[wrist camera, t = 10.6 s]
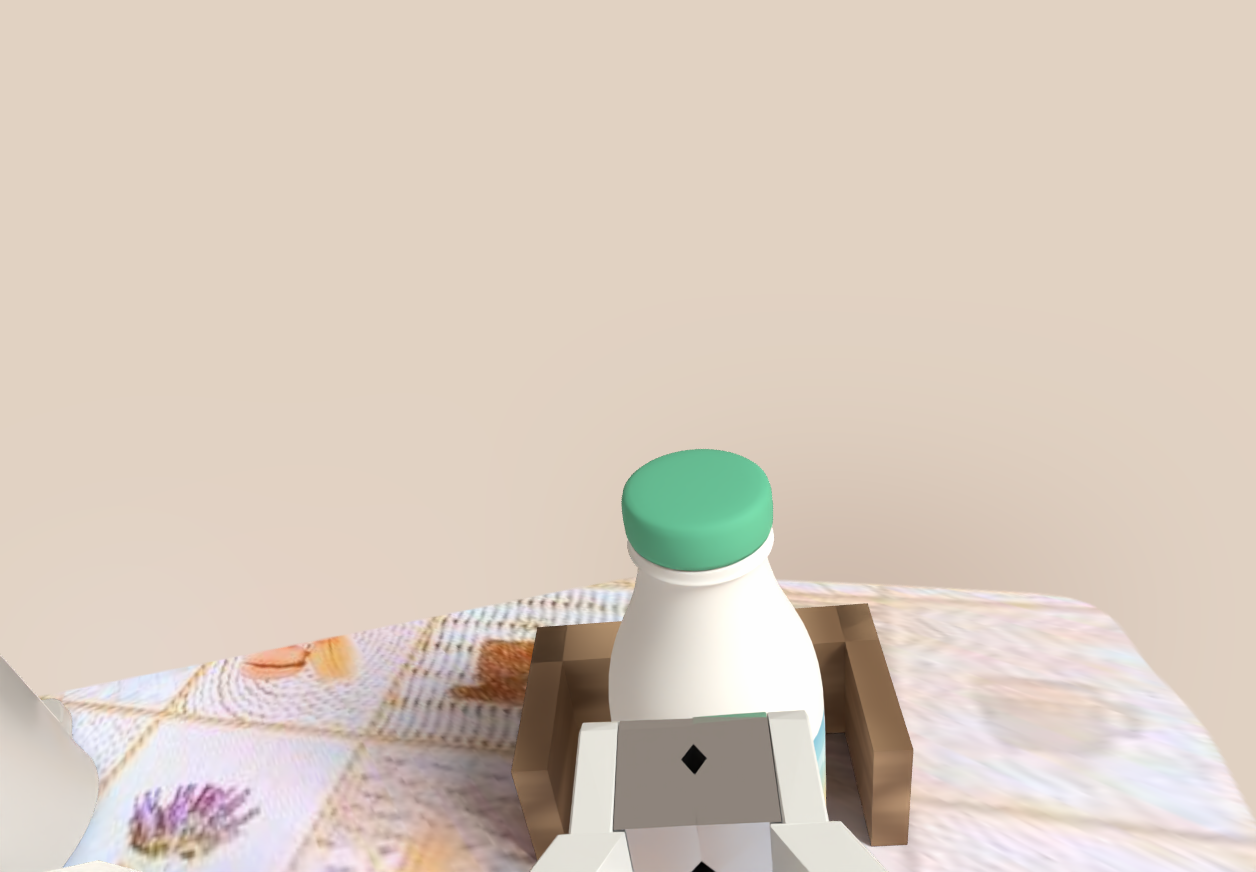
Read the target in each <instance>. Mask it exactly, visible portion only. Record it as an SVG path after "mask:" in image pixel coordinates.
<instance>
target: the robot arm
mask: <svg viewBox="0 0 1256 872" xmlns="http://www.w3.org/2000/svg"><path fill="white" fill-rule="evenodd" d="M98 790H99V779H98V773H97V769H96V766H95V764H94V762H93V760H92V759H91V757H90V756H89V755H88V754H87V753H86V752H85V751H84V750H83V749H82V748H81V747H80V746H79V745H78V744H77V743H76V742H75V741H74V740H73V738H72V716H71V713H70V711H69V710H68V709H67V708H66V707H65V706H64V705H63V704H62V703H61V702H60V701H59V700H57V699H46V700H41V699H40V698H39V697H38V696H37V695H36V694H35V693H34V692H33V690H32V689H31V688H30V687H29V686H28V685H27V683H26V682H25V681H24V680H23V679H22V678H21V677H20V675H19V674H18V673H17V672H16V671H15V670H14V669H13V668H12V666H11V665H10V664H9V663H8V662H7V661H6V660H5V659H4V658H3V657H2V656H1V654H0V872H47V871H51V870H56V869H61V868H62V867H63V866H64V865H65V863H66V862H67V861H68V859H69V858H70V856H71V855H72V853H73V852H74V850H75V849H76V847H77V845H78V844H79V842H80V840H81V839H82V837H83V835H84V833H85V831H86V829H87V827H88V825H89V823H90V820H91V818H92V815H93V812H94V809H95V806H96V802H97V797H98ZM529 872H888V871H887V870H886V869H885V868H884V867H883V866H882V865H881V864H880V862H879V861H878V860H877V859H876V858H875V857H874V856H873V855H872V854H871V853H870V852H869V851H868V850H867V849H866V847H865V846H864V845H863V844H862V843H861V842H860V841H859V840H858V839H857V838H856V837H855V836H854V835H853V834H852V832H851V831H850V830H849V829H848V828H847V827H846V826H845V825H844V824H843V823H842V822H841V821H829V819H828V814H827V809H826V804H825V798H824V793H823V788H822V783H821V778H820V773H819V768H818V763H817V758H816V752H815V747H814V742H813V737H812V732H811V727H810V722H809V717H808V715H807V713H806V712H805V710H796V711H780V712H768V713H767V715H766V712H755V713H742V714H728V715H715V716H701V717H693V718H691V719H662V720H632V721H613V722H591V723H582V726H581V729H580V732H579V737H578V747H577V756H576V766H575V776H574V786H573V796H572V805H571V815H570V825H569V834H561V835H557V836H556V837H555V839H554V840H553V841H552V843H551V844H550V845H549V847H548V848H547V849H546V850H545V852H544V853H543V854H542V856H541V857H540V858H539V860H538V861H537V862H536V863H535V865H534V866H533V867H532V869H531V870H530V871H529Z"/></svg>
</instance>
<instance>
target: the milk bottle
mask: <svg viewBox="0 0 1256 872" xmlns="http://www.w3.org/2000/svg"><path fill="white" fill-rule="evenodd" d="M622 514H623V521H624V526H625V531H626V535H627V538H628V542H627V548H628V552H629V555H630V557H631V559H632V561H633V562H634V564H635V565H636V566H637V567H638V572H637V578H636V583H635V588H634V592H633V595H632V598H631V601H630V603H629V606H628V608H627V611H626V613H625V615H624V617H623V620H622V622H621V625H620V627H619V630H618V632H617V635H616V638H615V642H614V646H613V650H612V654H611V661H610V669H609V706H610V714H611V722H613V721H632V720H662V719H691V718H693V717H701V716H715V715H728V714H742V713H755V712H766V715H767V713H768V712H780V711H796V710H805V712H806V713H807V715H808V717H809V722H810V727H811V732H812V737H813V742H814V747H815V752H816V758H817V763H818V768H819V773H820V778H821V783H822V788H823V793H824V798H825V804H826V755H825V716H824V700H823V686H822V680H821V675H820V669H819V664H818V660H817V656H816V653H815V650H814V647H813V644H812V641H811V639H810V637H809V634H808V632H807V630H806V628H805V626H804V624H803V622H802V620H801V618H800V617H799V615H798V614H797V612H796V610H795V609H794V607H793V606H792V604H791V603H790V601H789V600H788V598H787V597H786V595H785V594H784V592H783V591H782V589H781V588H780V586H779V584H778V583H777V580H776V578H775V576H774V574H773V572H772V569H771V567H770V564H769V561H768V558H767V556H768V555H769V553H770V551H771V549H772V546H773V542H774V532H773V529H772V523H773V501H772V492H771V487H770V483H769V481H768V478H767V476H766V474H765V473H764V471H763V470H762V469H761V468H760V467H759V466H758V465H756V464H755V463H754V462H752V461H750V460H749V459H747V458H744V457H742V456H740V455H737V454H734V453H731V452H726V451H720V450H712V449H711V450H710V449H695V450H685V451H680V452H675V453H671V454H667V455H664V456H661V457H659V458H656V459H654V460H652V461H650V462H649V463H647V464H645V465H644V466H642V467H641V468H639V469H638V470H637V471H636V472H635V473H633V475H631V477H630V478H629V479H628V481H627V482H626V484H625V486H624V490H623V495H622Z"/></svg>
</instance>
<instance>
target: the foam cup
mask: <svg viewBox="0 0 1256 872" xmlns="http://www.w3.org/2000/svg"><path fill="white" fill-rule="evenodd" d="M47 872H141V871H137V870H133V869H129V868H126V867H122V866H118V865H114V864H110V863H107V862H103V861H99V860H98V861H93V862H88V863H84V864H79V865H74V866H70V867H65V868H61V869H56V870H51V871H47Z"/></svg>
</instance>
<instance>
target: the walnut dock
mask: <svg viewBox="0 0 1256 872" xmlns="http://www.w3.org/2000/svg"><path fill="white" fill-rule="evenodd" d="M795 610H796V612H797V614H798V615H799V617H800V618H801V620H802V622H803V624H804V626H805V628H806V630H807V632H808V634H809V637H810V639H811V641H812V644H813V647H814V650H815V653H816V656H817V660H818V664H819V669H820V675H821V680H822V686H823V700H824V716H825V734H826V733H843V732H845V735H846V740H847V744H848V748H849V752H850V757H851V761H852V765H853V770H854V774H855V778H856V782H857V787H858V791H859V795H860V800H861V804H862V808H863V812H864V817H865V821H866V825H867V830H868V834H869V838H870V842H871V846H887V845H907V843H908V827H909V810H910V794H911V778H912V762H913V747H912V744H911V741H910V737H909V734H908V731H907V728H906V725H905V721H904V718H903V715H902V712H901V709H900V706H899V702H898V699H897V696H896V693H895V690H894V686H893V683H892V680H891V677H890V674H889V671H888V667H887V664H886V661H885V658H884V655H883V651H882V648H881V645H880V642H879V639H878V635H877V632H876V629H875V626H874V623H873V620H872V616H871V613H870V610H869V607H868V604H853V605H839V606H826V607H812V608H798V609H795ZM621 622H622V621H619V622H605V623H592V624H578V625H564V626H550V627H537V633H536V638H535V643H534V649H533V654H532V660H531V665H530V671H529V676H528V682H527V687H526V693H525V698H524V704H523V709H522V715H521V720H520V726H519V731H518V737H517V742H516V748H515V753H514V759H513V764H512V769H511V774H512V777H513V780H514V784H515V787H516V790H517V794H518V797H519V801H520V804H521V807H522V811H523V814H524V817H525V821H526V824H527V827H528V831H529V834H530V837H531V841H532V844H533V848H534V851H535V854H536V858H537V861H538V860H539V858H540V857H541V856H542V854H543V853H544V852H545V850H546V849H547V848H548V847H549V845H550V844H551V843H552V841H553V840H554V839H555V837H556V836H557V835H561V834H569V825H570V815H571V805H572V796H573V786H574V776H575V766H576V756H577V747H578V737H579V732H580V729H581V726H582V723H591V722H611V714H610V706H609V669H610V661H611V654H612V650H613V646H614V642H615V638H616V635H617V632H618V630H619V627H620V625H621Z"/></svg>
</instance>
